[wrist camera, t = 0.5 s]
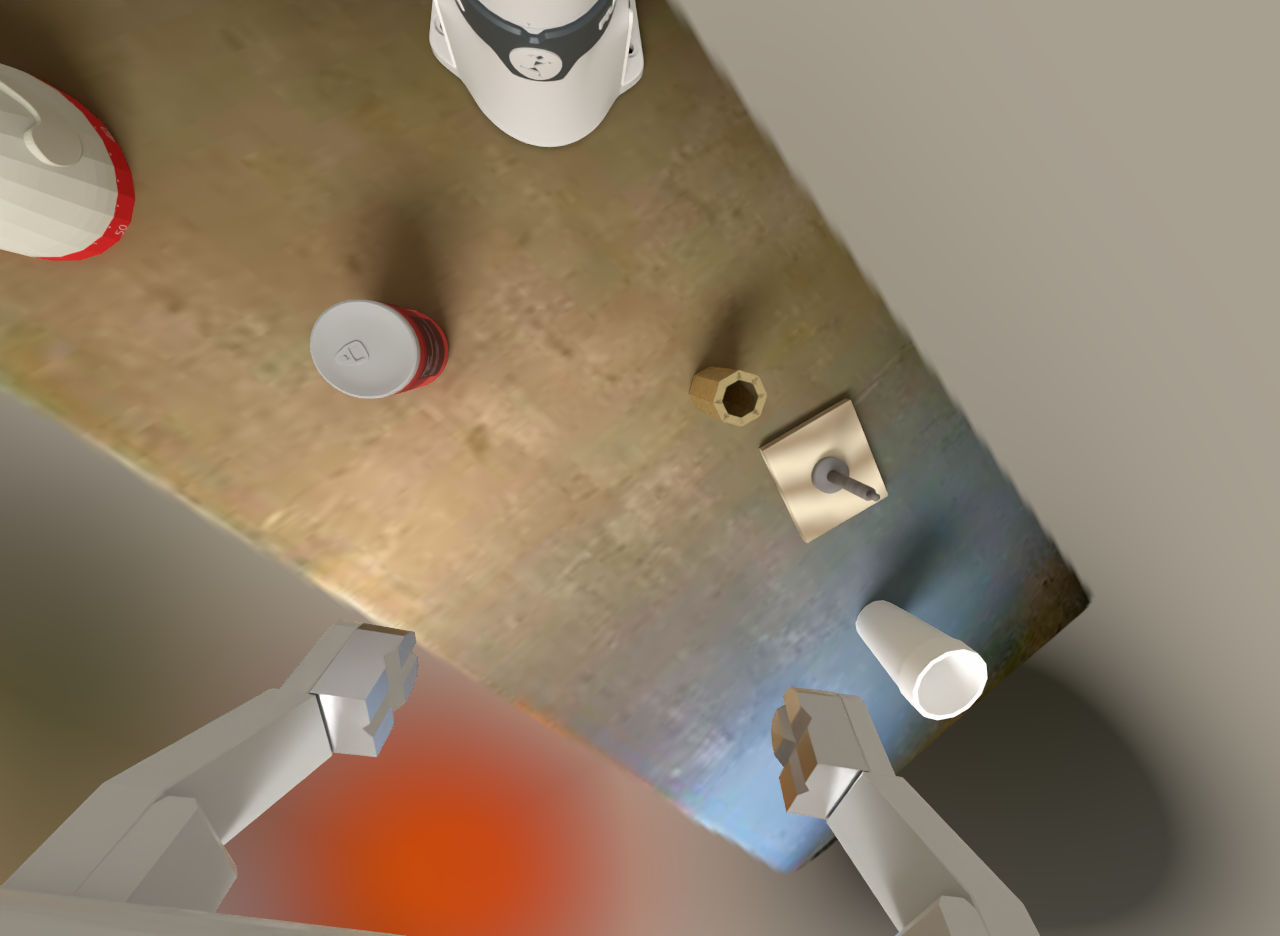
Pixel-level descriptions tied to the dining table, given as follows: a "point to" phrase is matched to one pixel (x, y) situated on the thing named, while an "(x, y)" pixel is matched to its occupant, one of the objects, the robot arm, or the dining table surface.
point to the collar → (728, 394)
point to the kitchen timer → (58, 174)
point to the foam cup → (923, 660)
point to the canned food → (377, 348)
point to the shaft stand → (825, 470)
